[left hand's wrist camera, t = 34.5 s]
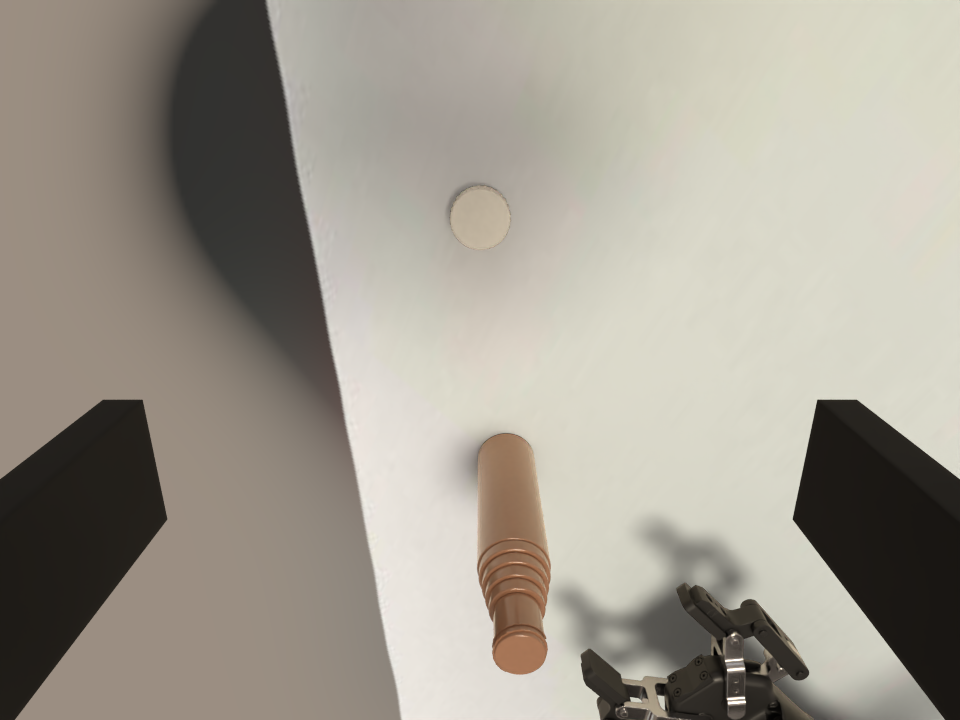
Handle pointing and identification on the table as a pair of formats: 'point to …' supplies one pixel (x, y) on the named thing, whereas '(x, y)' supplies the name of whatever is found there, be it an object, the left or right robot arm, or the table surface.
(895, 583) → the left robot arm
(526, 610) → the bottle
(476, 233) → the cap
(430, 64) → the table surface
